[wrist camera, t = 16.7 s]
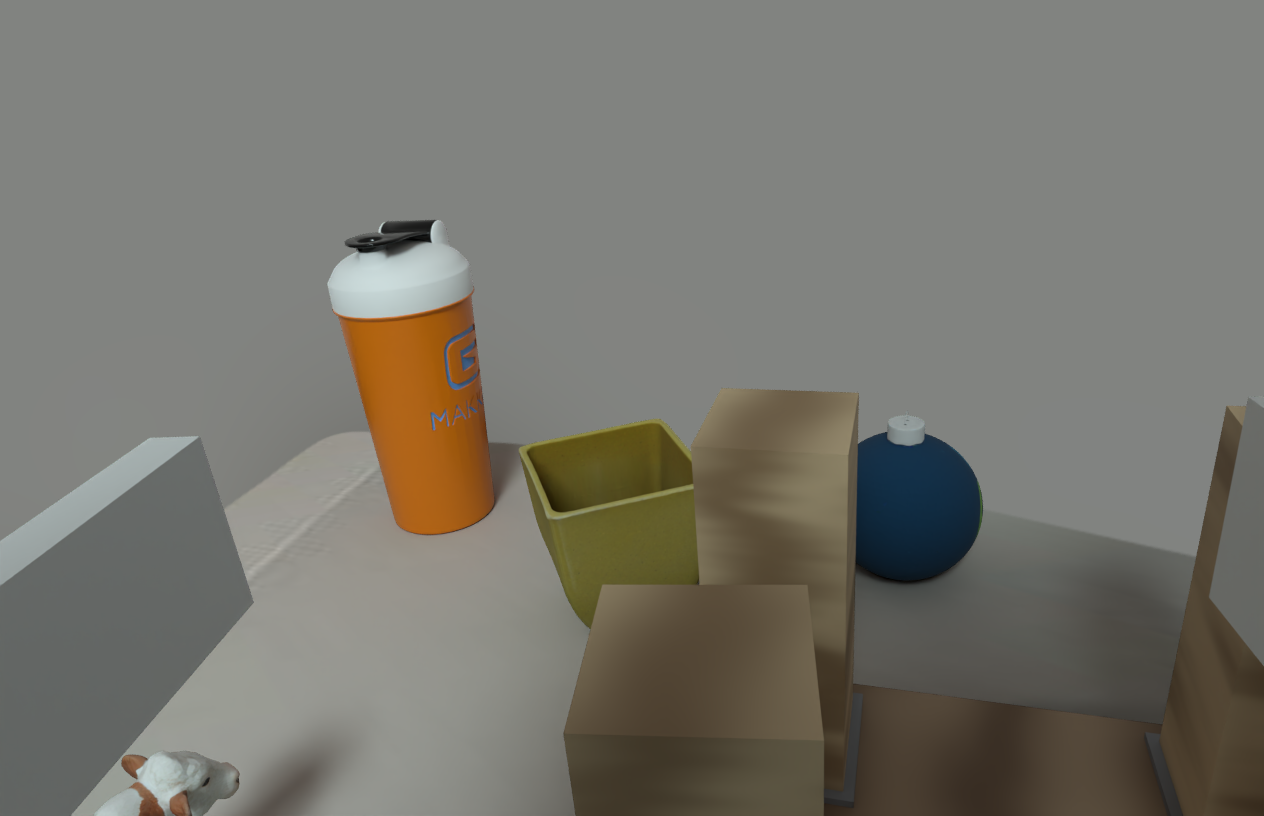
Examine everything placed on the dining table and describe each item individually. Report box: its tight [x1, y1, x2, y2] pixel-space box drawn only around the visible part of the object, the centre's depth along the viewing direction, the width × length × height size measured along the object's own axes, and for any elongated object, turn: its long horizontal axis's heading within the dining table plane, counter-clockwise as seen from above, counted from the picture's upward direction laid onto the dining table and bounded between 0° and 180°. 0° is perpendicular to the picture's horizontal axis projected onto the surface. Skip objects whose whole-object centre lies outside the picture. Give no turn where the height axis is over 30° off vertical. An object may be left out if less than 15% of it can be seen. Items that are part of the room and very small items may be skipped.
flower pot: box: [519, 419, 699, 629], centre depth 48 cm, size 9×9×9 cm
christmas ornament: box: [855, 415, 983, 580], centre depth 49 cm, size 8×8×10 cm
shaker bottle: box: [327, 220, 495, 535], centre depth 58 cm, size 9×9×20 cm
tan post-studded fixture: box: [691, 388, 1264, 816], centre depth 25 cm, size 24×20×17 cm
